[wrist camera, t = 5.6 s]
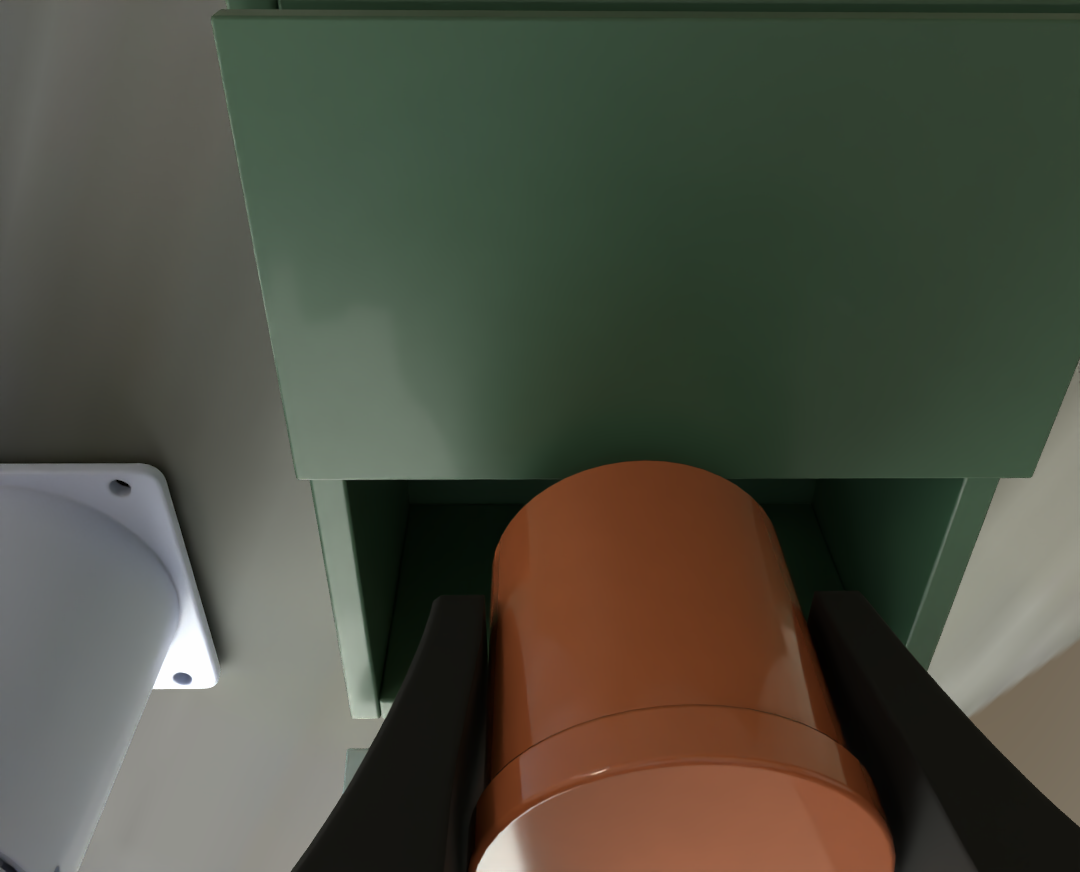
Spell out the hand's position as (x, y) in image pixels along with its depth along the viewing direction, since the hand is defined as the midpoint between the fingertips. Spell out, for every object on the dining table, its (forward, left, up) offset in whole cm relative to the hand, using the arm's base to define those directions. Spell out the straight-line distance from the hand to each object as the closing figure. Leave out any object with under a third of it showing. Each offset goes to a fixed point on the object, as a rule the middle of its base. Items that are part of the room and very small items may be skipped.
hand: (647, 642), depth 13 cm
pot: (0, 0, -1) cm, 1 cm away
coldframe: (0, +1, -9) cm, 9 cm away
